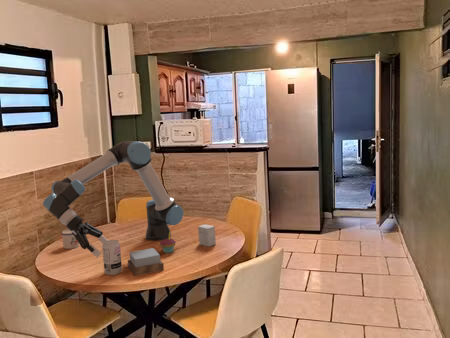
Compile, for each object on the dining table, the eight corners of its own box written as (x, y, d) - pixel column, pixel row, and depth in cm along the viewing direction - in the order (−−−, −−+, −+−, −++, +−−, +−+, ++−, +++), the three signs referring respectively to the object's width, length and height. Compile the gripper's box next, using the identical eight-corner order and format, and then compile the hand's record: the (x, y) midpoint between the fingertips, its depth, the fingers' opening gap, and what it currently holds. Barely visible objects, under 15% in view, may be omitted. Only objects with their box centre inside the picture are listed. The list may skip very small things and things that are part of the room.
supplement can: (106, 269, 215) (103, 240, 213) (123, 268, 216) (120, 239, 214) (103, 276, 207) (100, 245, 205) (120, 274, 208) (118, 244, 206)
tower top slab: (153, 255, 223) (153, 248, 222) (160, 262, 212) (159, 254, 211) (130, 259, 218) (129, 252, 217) (135, 267, 207) (134, 259, 206)
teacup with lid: (72, 249, 249) (70, 229, 247) (59, 248, 252) (57, 228, 250) (86, 243, 260) (84, 224, 258) (73, 242, 263) (71, 223, 261)
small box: (216, 244, 247) (215, 226, 245) (208, 247, 243) (208, 228, 241) (205, 241, 252) (205, 223, 251) (198, 244, 248) (197, 226, 247)
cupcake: (178, 249, 241) (177, 228, 239) (171, 254, 233) (170, 232, 231) (164, 248, 244) (163, 227, 242) (157, 253, 236) (155, 231, 234)
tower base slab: (155, 262, 224) (155, 254, 224) (163, 271, 212) (163, 263, 211) (128, 267, 218) (127, 260, 218) (135, 277, 206) (134, 269, 205)
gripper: (77, 218, 222) (109, 247, 223) (54, 233, 197) (89, 265, 198) (87, 208, 221) (118, 237, 221) (64, 221, 196) (99, 253, 197)
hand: (104, 250), depth 210 cm, fingers open, 13 cm apart
